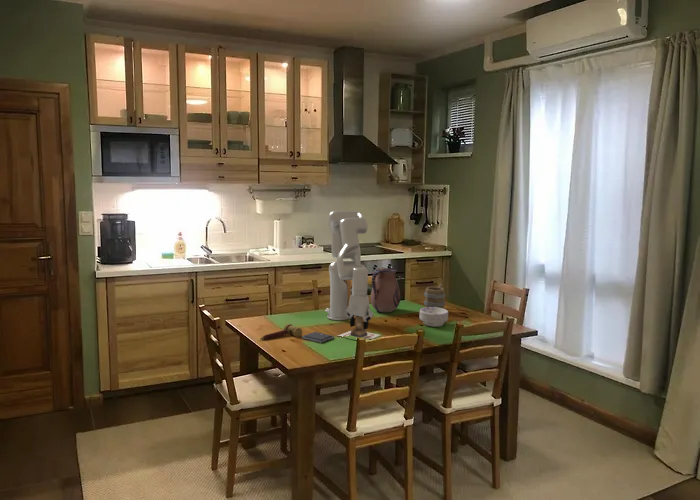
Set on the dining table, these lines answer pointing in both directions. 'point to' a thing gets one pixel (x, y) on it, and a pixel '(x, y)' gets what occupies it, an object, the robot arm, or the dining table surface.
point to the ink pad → (317, 337)
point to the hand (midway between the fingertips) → (359, 327)
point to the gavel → (284, 332)
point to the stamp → (358, 328)
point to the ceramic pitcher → (385, 290)
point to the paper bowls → (433, 316)
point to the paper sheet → (368, 336)
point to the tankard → (434, 297)
